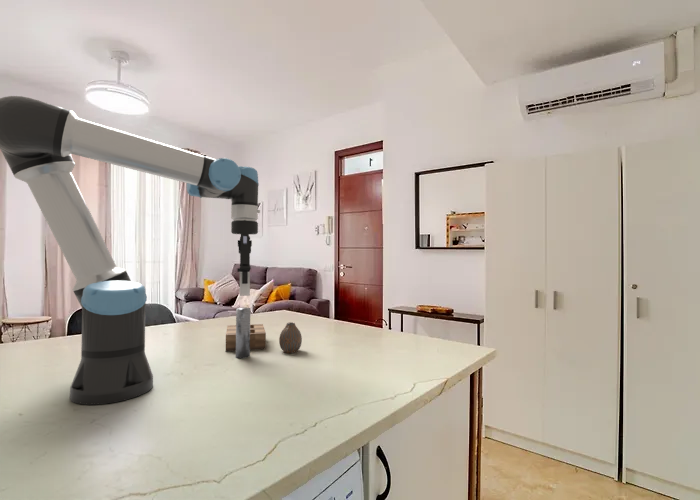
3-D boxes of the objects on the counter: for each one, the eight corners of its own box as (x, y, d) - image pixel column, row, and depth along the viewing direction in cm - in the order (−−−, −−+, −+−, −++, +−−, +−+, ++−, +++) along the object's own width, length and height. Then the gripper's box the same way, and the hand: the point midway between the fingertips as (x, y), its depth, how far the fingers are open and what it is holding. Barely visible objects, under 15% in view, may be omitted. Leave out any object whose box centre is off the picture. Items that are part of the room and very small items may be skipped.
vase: (299, 354, 113) (300, 325, 113) (277, 354, 113) (277, 324, 113) (303, 348, 120) (303, 321, 120) (281, 348, 120) (281, 320, 120)
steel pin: (249, 357, 108) (250, 309, 109) (235, 358, 107) (236, 309, 108) (249, 354, 112) (250, 307, 112) (235, 355, 111) (236, 307, 111)
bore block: (265, 349, 119) (265, 333, 119) (225, 351, 115) (225, 335, 115) (262, 338, 134) (262, 324, 134) (227, 339, 130) (227, 325, 131)
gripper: (260, 217, 99) (259, 297, 99) (256, 224, 123) (255, 288, 123) (230, 216, 97) (229, 298, 97) (232, 223, 121) (231, 289, 121)
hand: (244, 293), depth 110 cm, fingers open, 13 cm apart
